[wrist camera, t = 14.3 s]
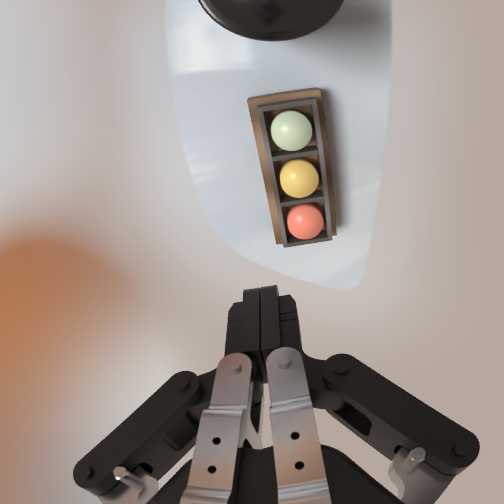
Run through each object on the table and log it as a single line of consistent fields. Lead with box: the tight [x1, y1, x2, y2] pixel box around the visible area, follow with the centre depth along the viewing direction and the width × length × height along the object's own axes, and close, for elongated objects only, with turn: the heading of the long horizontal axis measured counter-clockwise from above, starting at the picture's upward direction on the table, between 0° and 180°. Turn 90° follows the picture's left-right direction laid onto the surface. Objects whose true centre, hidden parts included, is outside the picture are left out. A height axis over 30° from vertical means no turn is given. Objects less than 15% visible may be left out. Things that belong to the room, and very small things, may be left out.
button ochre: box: [279, 157, 319, 198], centre depth 28 cm, size 3×3×2 cm
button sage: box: [271, 109, 312, 151], centre depth 26 cm, size 3×3×2 cm
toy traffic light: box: [247, 88, 337, 248], centre depth 30 cm, size 15×6×4 cm, turn 11°
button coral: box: [287, 202, 323, 239], centre depth 31 cm, size 3×3×2 cm
